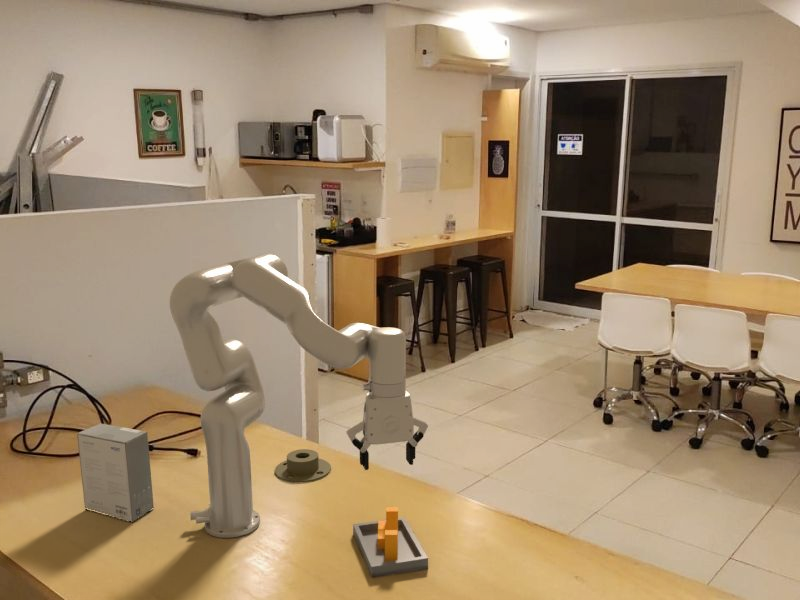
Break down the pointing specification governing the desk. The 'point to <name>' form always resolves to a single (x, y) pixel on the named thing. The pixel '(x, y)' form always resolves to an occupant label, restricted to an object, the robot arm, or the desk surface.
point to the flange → (302, 467)
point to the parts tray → (367, 540)
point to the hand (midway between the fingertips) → (387, 464)
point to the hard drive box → (116, 471)
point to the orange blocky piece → (389, 534)
